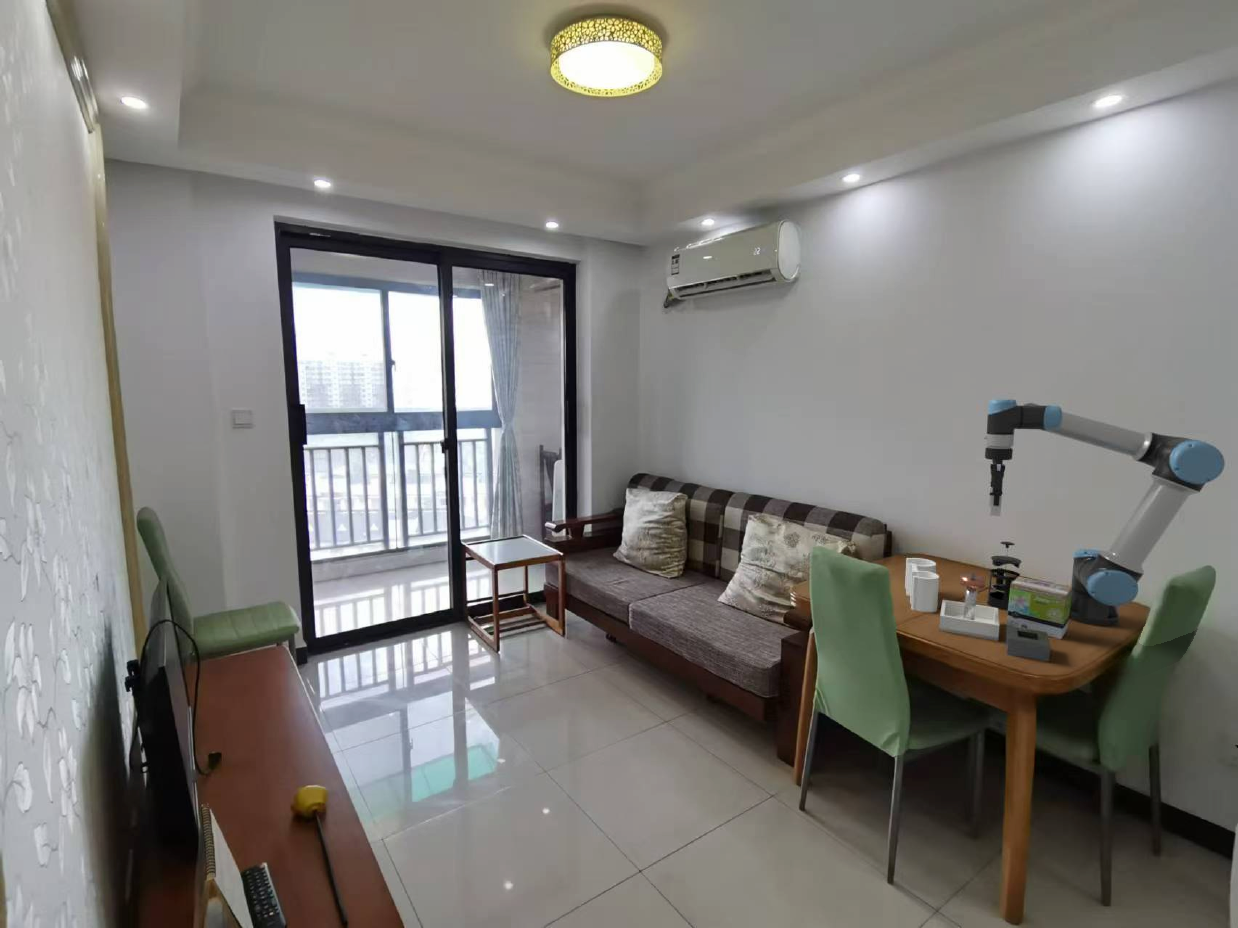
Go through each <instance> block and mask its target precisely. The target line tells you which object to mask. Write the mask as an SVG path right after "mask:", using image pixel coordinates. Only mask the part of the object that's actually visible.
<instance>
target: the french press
mask: <svg viewBox="0 0 1238 928" xmlns="http://www.w3.org/2000/svg"><path fill="white" fill-rule="evenodd" d="M1000 544H1001V545H1005V548H1006V550H1005V555H994V556H991V558H990V559H991V560H992V561H991V562H992V565H993V566H994V567H997V568H993V569H990V570H989V580H988V581H989V583H988V593H987V601H986V604H987V605H988V607H994V608H998V610H1003V611H1008V604H1009V595H1010V586H1011V584H1012V582H1013V581H1014V580H1015V579H1016V578H1017V577H1021V573H1019V572H1017V571H1014V570H1011V569H1007V565H1013V566H1014V567H1015V568H1017V569H1019V568H1020V565H1021V564H1022V560H1021V559H1019V558H1016V557H1013V556H1008V549H1009V547H1010V546H1015V543H1013V542H1011V541H1001V542H1000ZM1001 566H1004V568H1002V567H1001ZM1006 574H1009V575H1012V576H1006ZM992 578H995V579H996V581H995V583H993V584H992Z"/></svg>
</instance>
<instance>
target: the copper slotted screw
mask: <svg viewBox="0 0 1238 928" xmlns="http://www.w3.org/2000/svg"><path fill="white" fill-rule="evenodd" d="M986 581H987V580H986V578H985V577H983V576H980V575H978V574H977V575H976V573H975V572H971V573H963V574H960V579H959V584H960V586H962V587H965V597H964V603H965V605H964V616H963V618H964V619H970V620H975V612H976V605H977V599H978V590H981V589H983V590H984V589H985V588H986Z"/></svg>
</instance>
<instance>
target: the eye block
mask: <svg viewBox="0 0 1238 928" xmlns="http://www.w3.org/2000/svg"><path fill="white" fill-rule="evenodd" d="M1005 649H1006V650H1005V651H1006V654H1007V655H1009V656H1015V657H1019V658H1025V659H1031V660H1034V661H1035V660H1037V661H1040V662H1046V663H1049V661H1050V653H1051V643H1050V639H1049V636H1048V635H1047V632H1041V631H1035V630H1029V629H1023V628H1017V627H1012V626H1007V625H1006V634H1005Z"/></svg>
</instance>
